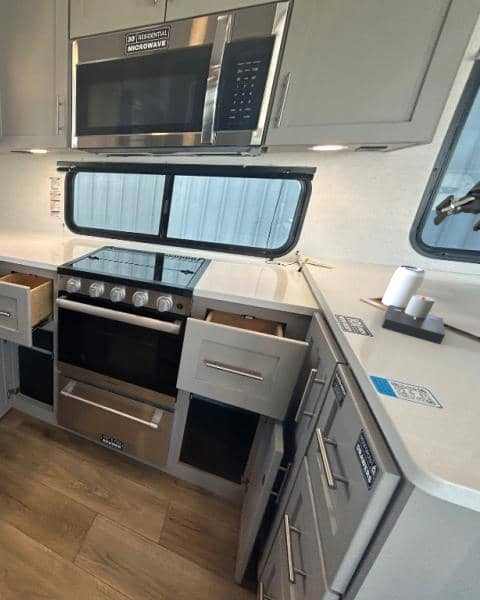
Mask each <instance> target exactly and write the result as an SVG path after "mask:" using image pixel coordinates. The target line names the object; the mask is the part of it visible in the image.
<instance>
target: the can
mask: <svg viewBox="0 0 480 600" xmlns="http://www.w3.org/2000/svg"><path fill="white" fill-rule="evenodd" d="M425 272H426V269H423V268H420V267H416V266H412V265H399V267H398V268H397V269H396V270H395V271H394V273H393V276H392V278H391V279H390V281H389V284H388V286H387V288H386V291H385V292H384V295H383V297H382V298H381V299H382V303H383V304H384V305H386V306H389V305H393V306H397V307H401V308H405V309H406V308H407V306H408V304H409V302H410V300H411V298H412V296H413V295H418V291H419V290H420V288H421V286H422V284H423V281H424V280H425V277H426V273H425Z"/></svg>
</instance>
